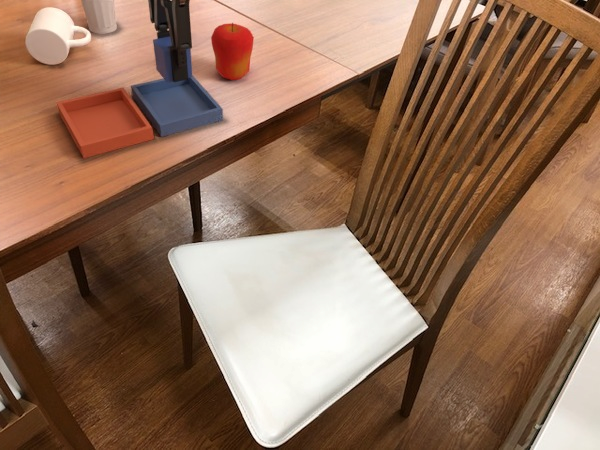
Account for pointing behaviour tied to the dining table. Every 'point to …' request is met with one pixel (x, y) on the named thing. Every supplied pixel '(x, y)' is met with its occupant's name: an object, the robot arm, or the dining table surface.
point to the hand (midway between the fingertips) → (174, 72)
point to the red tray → (104, 122)
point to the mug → (53, 36)
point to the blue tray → (176, 105)
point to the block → (167, 58)
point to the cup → (100, 15)
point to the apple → (232, 50)
